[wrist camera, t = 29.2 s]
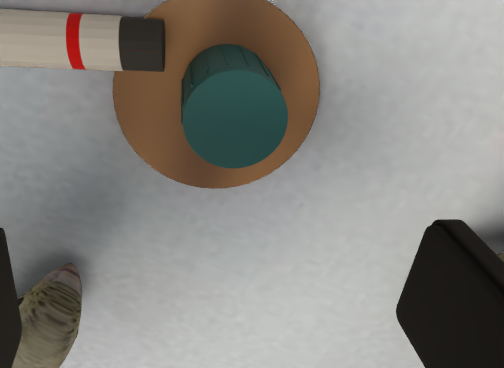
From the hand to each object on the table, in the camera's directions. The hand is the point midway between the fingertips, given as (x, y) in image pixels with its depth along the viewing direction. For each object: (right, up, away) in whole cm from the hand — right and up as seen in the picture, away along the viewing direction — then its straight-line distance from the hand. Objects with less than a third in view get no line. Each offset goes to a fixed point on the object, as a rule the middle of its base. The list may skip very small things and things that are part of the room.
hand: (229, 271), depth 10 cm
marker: (-11, +8, +7) cm, 15 cm away
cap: (-1, +6, +9) cm, 11 cm away
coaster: (-1, +6, +10) cm, 12 cm away
